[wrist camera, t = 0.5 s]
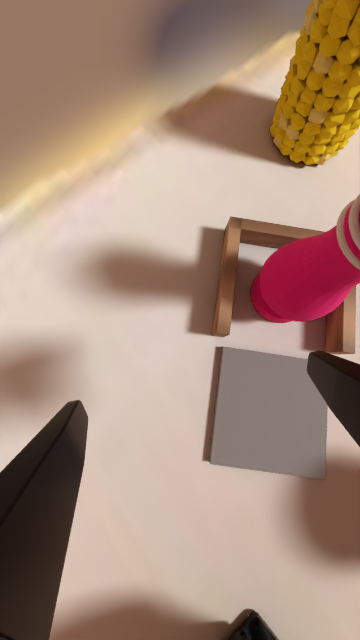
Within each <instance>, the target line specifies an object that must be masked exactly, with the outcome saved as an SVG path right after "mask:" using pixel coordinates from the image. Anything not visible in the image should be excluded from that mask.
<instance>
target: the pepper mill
mask: <svg viewBox="0 0 360 640" xmlns="http://www.w3.org/2000/svg"><path fill="white" fill-rule="evenodd" d="M359 283H360V195H359V196H358V197H357V198H356V199H355V200H353V201H352V202H350V203H349V204H348V205H347V206H346V207H345V208H344V209H343V211H342V212H341V214H340V216H339V218H338V222H337V225H336V226H335V227H334V228H332V229H331V230H329V231H327V232H325V233H323V234H320V235H316V236H312V237H307V238H302V239H298V240H296V241H293V242H291V243H288V244H286V245H284V246H283V247H281V248H279V249H278V250H277V251H276V252H274V253H273V254H272V255H271V256H270V257H269V258H268V259H267V261H266V262H265V264H264V266H263V268H262V271H261V272H260V273H259V274H258V275H257V277H256V278H255V279H254V281H253V283H252V287H251V299H252V303H253V305H254V307H255V309H256V310H257V311H258V312H259V314H261V315H262V316H263V317H264V318H266V319H268V320H270V321H273V322H277V323H286V322H290V321H302V322H303V321H312V320H315V319H318V318H320V317H323V316H325V315H327V314H329V313H330V312H332V311H333V310H334V309H336V308H337V307H338V306H339V305H340V304H341V303H342V302H343V301H344V299H345V298H346V297H347V296H348V294H349V293H350V291H351V290H352V289H353V288H354V287H355V286H356V285H357V284H359Z"/></svg>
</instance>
